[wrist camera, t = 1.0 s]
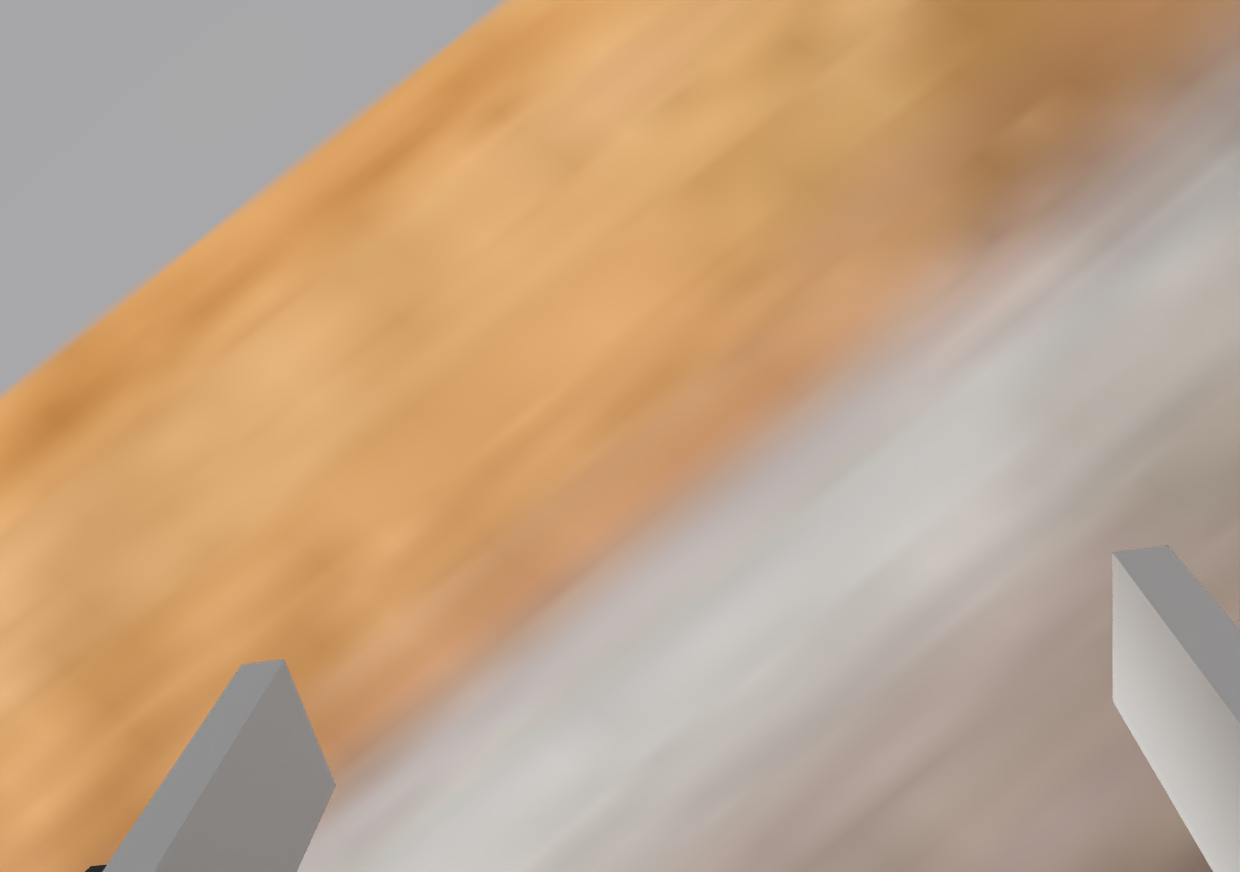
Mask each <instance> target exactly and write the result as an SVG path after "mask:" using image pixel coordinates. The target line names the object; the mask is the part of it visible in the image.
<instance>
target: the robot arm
mask: <svg viewBox="0 0 1240 872" xmlns="http://www.w3.org/2000/svg"><path fill="white" fill-rule="evenodd" d="M1113 702H1114V704H1115V706H1116V707H1117V709H1118V711H1119V712H1120V714H1121V716H1122V718H1123V719H1124V721H1125V723H1126V724H1127V726H1128V728H1129V729H1130V731H1131V733H1132V735H1133V736H1134V738H1135V740H1136V741H1137V743H1138V745H1139V746H1140V748H1141V750H1142V752H1143V753H1144V755H1145V757H1146V758H1147V760H1148V762H1149V763H1150V765H1151V767H1152V769H1153V770H1154V772H1155V774H1156V775H1157V777H1158V779H1159V780H1160V782H1161V784H1162V786H1163V787H1164V789H1165V791H1166V792H1167V794H1168V796H1169V798H1170V799H1171V801H1172V803H1173V804H1174V806H1175V808H1176V809H1177V811H1178V813H1179V815H1180V816H1181V818H1182V820H1183V821H1184V823H1185V825H1186V826H1187V828H1188V830H1189V832H1190V833H1191V835H1192V837H1193V838H1194V840H1195V842H1196V843H1197V845H1198V847H1199V849H1200V850H1201V852H1202V854H1203V855H1204V857H1205V859H1206V860H1207V862H1208V864H1209V866H1210V867H1211V869H1212V871H1213V872H1240V630H1239V629H1238V627H1237V626H1236V625H1235V624H1234V623H1233V621H1232V620H1231V619H1230V618H1229V617H1228V616H1227V614H1226V613H1225V612H1224V611H1223V610H1222V609H1221V607H1220V606H1219V605H1218V604H1217V603H1216V602H1215V600H1214V599H1213V598H1212V597H1211V596H1210V594H1209V593H1208V592H1207V591H1206V590H1205V589H1204V587H1203V586H1202V585H1201V584H1200V583H1199V582H1198V580H1197V579H1196V578H1195V577H1194V576H1193V575H1192V573H1191V572H1190V571H1189V570H1188V569H1187V567H1186V566H1185V565H1184V564H1183V563H1182V562H1181V560H1180V559H1179V558H1178V557H1177V556H1176V555H1175V553H1174V552H1173V551H1172V550H1171V549H1170V548H1169V546H1168V545H1167V546H1159V547H1152V548H1144V549H1136V550H1128V551H1120V552H1113ZM335 786H336V784H335V782H334V779H333V777H332V775H331V772H330V770H329V767H328V765H327V762H326V760H325V758H324V755H323V753H322V750H321V748H320V745H319V743H318V740H317V738H316V736H315V733H314V731H313V728H312V726H311V723H310V721H309V719H308V716H307V714H306V711H305V709H304V706H303V704H302V702H301V699H300V697H299V694H298V692H297V689H296V687H295V684H294V682H293V680H292V677H291V675H290V672H289V670H288V667H287V665H286V663H285V660H284V659H282V660H275V661H267V662H259V663H251V664H244V665H241V667H240V668H239V670H238V671H237V672H236V674H235V675H234V677H233V678H232V680H231V681H230V683H229V684H228V686H227V687H226V689H225V690H224V692H223V693H222V695H221V696H220V698H219V699H218V701H217V702H216V704H215V705H214V707H213V708H212V710H211V711H210V713H209V714H208V716H207V717H206V719H205V720H204V722H203V723H202V725H201V726H200V728H199V729H198V730H197V732H196V733H195V735H194V736H193V738H192V739H191V741H190V742H189V744H188V745H187V747H186V748H185V750H184V751H183V753H182V754H181V756H180V757H179V759H178V760H177V762H176V763H175V765H174V766H173V768H172V769H171V771H170V772H169V774H168V775H167V777H166V778H165V780H164V781H163V783H162V784H161V785H160V787H159V788H158V790H157V791H156V793H155V794H154V796H153V797H152V799H151V800H150V802H149V803H148V805H147V806H146V808H145V809H144V811H143V812H142V814H141V815H140V817H139V818H138V820H137V821H136V823H135V824H134V826H133V827H132V829H131V830H130V832H129V833H128V835H127V836H126V838H125V839H124V840H123V842H122V843H121V845H120V846H119V848H118V849H117V851H116V852H115V854H114V855H113V857H112V858H111V860H110V861H109V863H108V864H107V865H100V866H91V867H90V868H89V869H87V870H86V871H85V872H297V870H298V867H299V865H300V863H301V861H302V859H303V856H304V854H305V852H306V850H307V848H308V845H309V843H310V841H311V839H312V836H313V834H314V832H315V830H316V828H317V825H318V823H319V821H320V819H321V817H322V814H323V812H324V810H325V808H326V806H327V803H328V801H329V799H330V797H331V794H332V792H333V790H334V788H335Z"/></svg>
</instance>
